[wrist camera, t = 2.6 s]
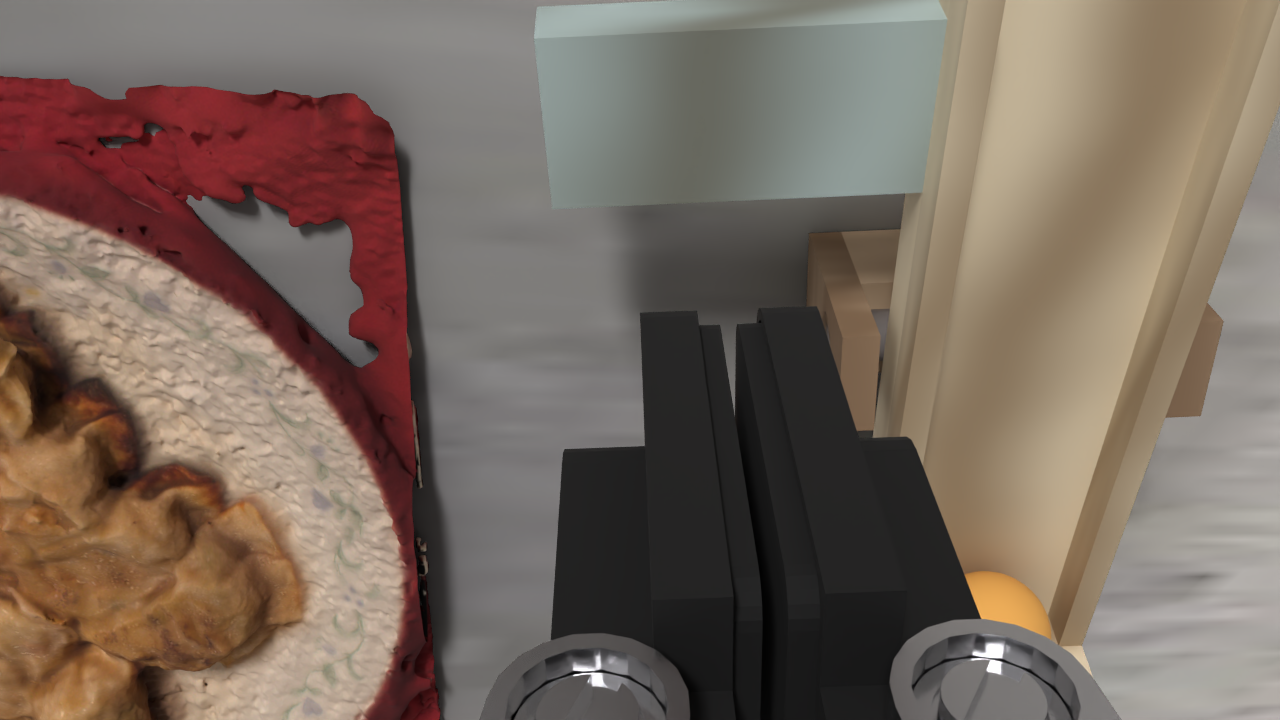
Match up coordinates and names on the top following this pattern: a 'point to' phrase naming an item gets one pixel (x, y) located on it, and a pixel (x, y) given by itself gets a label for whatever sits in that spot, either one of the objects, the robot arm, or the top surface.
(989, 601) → the ball
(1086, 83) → the lever
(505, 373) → the top surface
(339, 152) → the plate with food
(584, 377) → the top surface
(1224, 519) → the top surface
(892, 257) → the fulcrum
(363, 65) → the top surface
